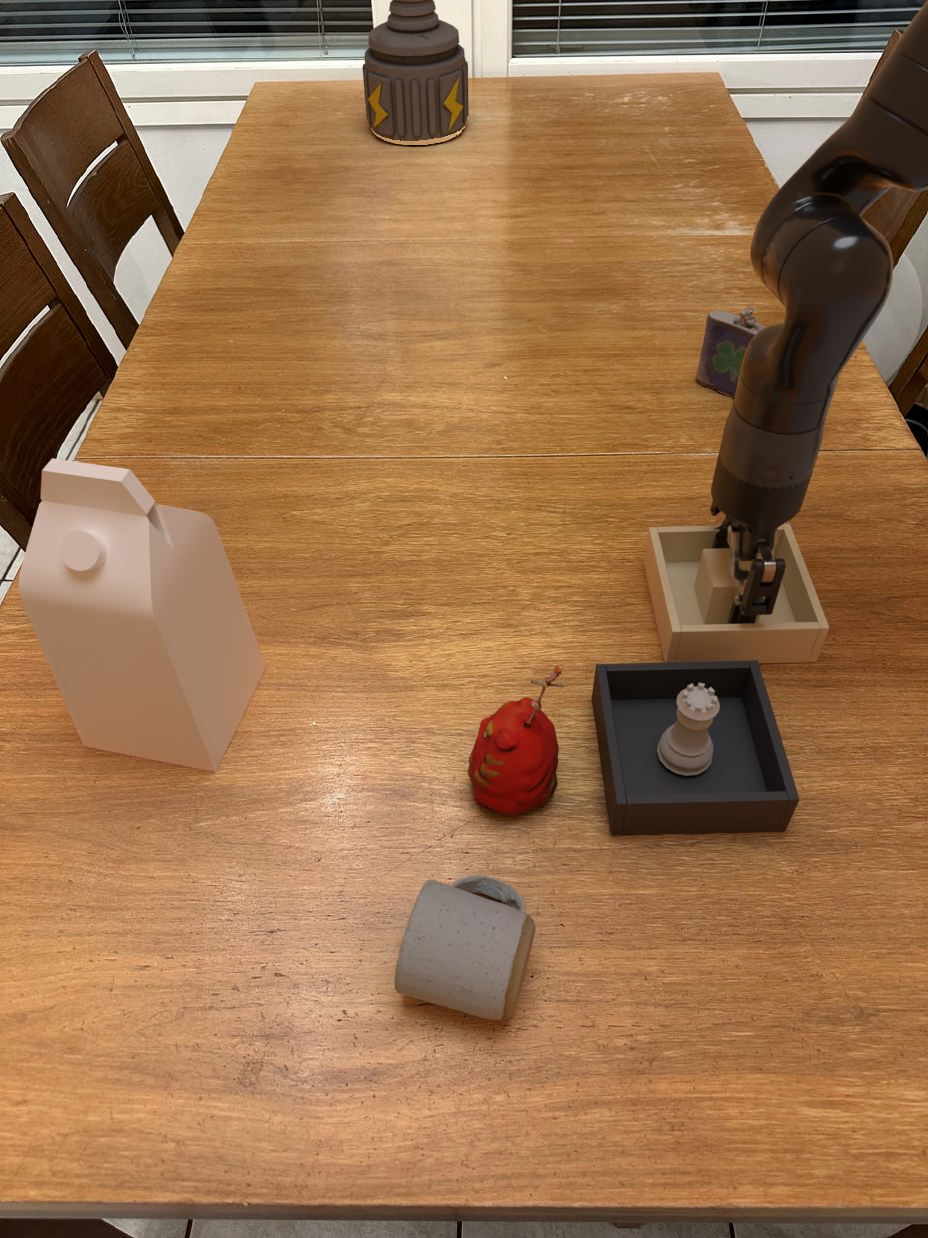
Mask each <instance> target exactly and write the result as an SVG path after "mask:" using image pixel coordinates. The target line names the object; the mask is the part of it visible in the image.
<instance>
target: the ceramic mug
mask: <svg viewBox="0 0 928 1238" xmlns="http://www.w3.org/2000/svg"><path fill="white" fill-rule="evenodd" d="M478 894H481V895H485V896H487V897H490V898H492V899H494V900H491V899H488V898H485V897H482V896H480V895H478ZM495 900H498V901H500V902H498V901H495ZM535 934H536V923H535V921H534V919H533V918H532V917H531V916H530V915H528V914H527V913H526V905H525V901H524V898H523V897H522V896H521V893H519V892H518V890H517V889H516V888H514V887H513V886H512V885H510V884H509V883H506V882H505V881H503V880H500V879H497V878H496V877H493V876H487V875H481V874H479V875H477V874H473V875H467V876H465V877H460V878H459V879H457V880H455V881H454V882H452V883H451V884H450V885H449V884H446V883H444V882H441V881H439V880H435V879H428V880H426V882H424V884H423V885H422V887H421V889H420V891H419V892H418V895H417V897H416V898H415V902H414V905H413V907H412V909H411V912H410V914H409V918H408V921H407V924H406V927H405V930H404V933H403V936H402V938H401V939H402V940H401V942H400V945H399V951H398V958H397V961H396V966H395V971H394V972H395V973H394V989H395V992H397V993H398V994H400V995H404V996H407V997H410V998H414V999H417V1000H420V1001H424V1002H428V1003H430V1004H434V1005H438V1006H441V1007H444V1008H447V1009H448V1008H449V1009H451V1010H456V1011H460V1012H463V1013H466V1014H469V1015H472V1016H474V1017H478V1018H481V1019H486V1020H494V1021H495V1020H496V1021H506V1020H508V1019H510V1018H511V1017H513V1015H514V1013H515V1011H516V1008H517V1004H518V1002H519V998H520V994H521V991H522V988H523V987H522V986H523V983H524V980H525V973H526V971H527V968H528V964H529V959H530V954H531V951H532V946H533V943H534V939H535Z"/></svg>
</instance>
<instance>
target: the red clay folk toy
mask: <svg viewBox="0 0 928 1238" xmlns="http://www.w3.org/2000/svg"><path fill="white" fill-rule="evenodd" d="M550 673H551V674H550V675H549V677H547V676H546V677H545V678H543V680H542V682H539V681H535V680H530V683H532V684H534V685H539V686H542V688H541V692H540V694H539V695H538V698H537V699H533V698H531V697H528V696H525V697H523V698H520V699H518V700H515V701H513V700H509V701H507V702H505V703H503V704H502V705H501V706H500V707H499V708H498V709H497V710H496V711H495V712H494V713H493V714H491V715H489V716H487V717H484V718H483V719H482V720H481V721H480V725H479V727H478V728H479V729H478V732H477V736H476V739H475V741H474V745H473V747H472V750H471V752H470V755H469V757H468V768H467V776H468V777H469V778H470V782H471V784H472V785H473V793H472V794H473V795H472V796H473V799H474V802H475V803H476V805H477V806H479V807H481V808H485V809H491V810H492V811H494V812H496V813H497V814H500V815H504V816H505V815H506V816H512V815H519V814H523V813H527V812H529V811H530V810H532V809H534V808H536V807H537V806H541V805H545V804H547V803H548V802H549V801H550V800H551V798H552V797H553V795H554V794H555V791H556V789H557V786H558V776H557V770H558V766H559V750H560V748H559V742H558V737H557V732H556V728H555V724H554V723H553V722H552V720H551V719H550V718H549V717H548V716H547V714H546V713H545V712H544V711H542V708H543V707H542V703H541V701H542V698H543V695H544V694H545V691H546V689H547V688H549V687H557V688H564V685H563V683H553V682H554V681H555V680H556V679H557V678H559V677H561V675H562V668H561V667H560V666H559V665H556V666H555V667H554V668H552V670H551V672H550Z"/></svg>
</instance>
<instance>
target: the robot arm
mask: <svg viewBox="0 0 928 1238" xmlns="http://www.w3.org/2000/svg"><path fill="white" fill-rule="evenodd" d="M892 188H896V189H899V190H904V191H908V192H924V191H927V190H928V0H926V2H925V3H924V4H923V6H922V7H921V8H920V9H919V10H918V12H917V13H916V14H915V15H914V17H913V18H912V20H911V21H910V23H909V24H908V26H907V27H906V28H905V30H904V31H903V33H902V34H901V36H900V38H898V40H897V42H896V44H895V45H894V47H893V49H892V50H891V51H890V53H889V55H888V56H887V58H886V59H885V61H884V63H883V64H882V66H881V67H880V69H878V72H877V73H876V75H875V76H874V78H873V80H872V81H871V82H870V85H869V86H868V88H867V89H866V91H865V94H863V95H862V96H861V99H860V100H859V101H858V103H857V104H856V106H855V109H854V110H853V112H852V113H851V115H850V116H849V117H848V119H846V120H845V122H843V124H841V125H840V127H838V128H837V129H836V130H835V131H834V132H833V133H832V134H831V135H830V136H829V137H828V138H827V139H826V140H825V141H824V142H823V143H821V144H820V146H818V147H817V149H816V150H815V151H814V152H813V153H812V154H811V155H810V156H809V158H807V160H806V161H804V163H802V164H801V166H800V167H799V168H798V169H796V171H795V172H794V173H793V174H792V175H791V176H790V177H789V178H788V179H787V180H786V181H785V183H783V185H782V186H781V187H780V188H779V189H778V190H777V192H775V194H774V195H773V196H772V197H771V199H770V201H769V202H768V203H767V204H766V207H764V210H763V211H762V213H761V215H760V217H759V219H758V222H757V223H756V227H755V229H754V231H753V235H752V239H751V244H750V262H751V266H752V268H753V271H754V272H755V275H756V276H757V277H758V279H759V280H760V281H761V282H762V283H763V285H764V286H765V287H766V288H767V289H768V290H770V292H771V293H772V294H773V296H775V298H777V300H778V301H779V302H780V303H781V304H782V306H783V307H785V315H784V322H779V323H775V324H770V325H768V326H766V328H764V329H762V330H761V331H759V332H758V333H757V334H756V335H755V336H754V337H753V338H752V339H751V341H750V343H749V345H748V347H747V349H746V352H745V355H744V358H743V362H742V366H741V371H740V376H739V380H738V385H737V389H736V394H735V398H734V399H733V401H732V405H731V408H730V410H729V413H728V415H727V417H726V421H725V425H724V428H723V432H722V436H721V437H722V438H721V442H720V446H719V450H718V455H717V460H716V464H715V469H714V474H713V478H712V482H711V487H710V495H711V498H712V501H711V505H710V509H709V510H710V511H709V512H710V515H711V516H712V517H715V520H714V522H713V525H712V526H713V530H714V533H715V537H714V541H713V546H712V549H721V548H730V570H729V573H730V576H731V577H733V578H734V579H735V596H734V600H733V604H732V607H731V611H730V615H729V618H728V622H727V624H749V623H755V621H756V617H757V615H771V614H772V612H773V609H774V606H775V602H776V599H777V595H778V592H779V589H780V585H781V582H782V578H783V575H784V572H785V568H786V564H785V560H784V559H783V558H777V559H774V546H775V545H776V544H777V534H778V530H777V528H778V527H780V526H781V525H783V524H787V523H788V522H789V521H791V520H793V519H794V518H795V517H796V516H797V515H798V514H799V512H800V511H801V509H802V506H803V504H804V501H805V497H806V495H807V491H808V488H809V484H810V483H811V482H810V481H811V479H812V475H813V472H814V470H815V466H816V462H817V459H818V456H819V453H820V450H821V448H822V447H821V446H822V443H823V439H824V434H825V433H824V431H825V425H826V420H827V416H828V413H829V410H830V407H831V403H832V401H833V397H834V395H835V391H836V387H837V384H838V380H839V377H840V374H841V373H842V371H843V370H844V368H845V367H846V365H847V364H848V362H849V361H850V360H851V358H852V357H853V356H854V354H855V352H856V351H857V349H858V347H859V346H860V344H862V341H863V340H864V338H865V337H866V335H867V334H868V332H869V331H870V329H871V328H872V326H873V325H874V323H875V322H876V320H877V318H879V316H880V314H881V312H882V310H883V308H884V306H885V305H886V302H887V300H888V298H889V296H890V293H891V292H890V291H891V289H892V283H893V277H894V275H893V274H894V258H893V253H892V249H891V246H890V244H889V243H888V241H887V239H886V238H885V237H884V235H883V234H882V233H881V232H880V231H878V230H877V229H876V228H875V227H874V226H873V225H871V224H870V223H869V222H868V221H867V220H866V219H864V218H863V217H862V216H863V215H864V213H865V212H866V211H867V210H868V209H869V208H871V206H872V205H873V204H874V203H876V201H878V200H879V198H881V197H882V196H883V195H884V194H886V192H888V191H889V190H890V189H892ZM740 561H752V562H751V566H749V567H748V569H741V568H740V566H739V564H740ZM746 579H747V582H746V585H745V589H744V581H745V580H746Z"/></svg>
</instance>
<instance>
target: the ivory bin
mask: <svg viewBox="0 0 928 1238" xmlns="http://www.w3.org/2000/svg"><path fill="white" fill-rule="evenodd" d="M647 530H648V532H647V537H646V541H645V542H646V543H645V549H644V555H643V561H642V562H643V568H644V573H645V578H646V581H647V586H648V591H649V595H650V600H651V605H652V610H653V614H654V619H655V624H656V629H657V633H658V639H659V642H660V643H659V644H660V647H661V652H662V657H663V661H664V662H663V663H666V662H708V661H749V660H758V663H759V664H790V663H791V664H795V663H797V664H798V663H817V661H818V658H819V656H820V653H821V651H822V648H823V645H824V644H825V640H826V638H827V635H828V633H829V631H830V625H829V623H828V620H827V617H826V614H825V613H824V609H823V607H822V604H821V602H820V599H819V596H818V593H817V591H816V588H815V585H814V583H813V580H812V578H811V575H810V572H809V570H808V567H807V565H806V562H805V559H804V557H803V553H802V552H801V549H800V546H799V543H798V541H797V538H796V537H795V536H796V535H795V534H794V531H793V528H792V526H791V523H784V524H783V525H781V526H780V527H778V528H777V530H778V534H777V544H776V545H775V546H774V559H777V558H783V559H784V560H785V564H786V568H785V572H784V575H783V578H782V582H781V585H780V589H779V592H778V595H777V599H776V602H775V606H774V609H773V612H772V614H771V615H760V618H759V621H758V623H749V624H707V625H704V623H703V619H702V615H701V611H700V607H699V603H698V599H697V596H696V592H695V588H694V586H695V582H696V577H697V573H698V569H699V564H700V560H701V556H702V551H703V549H712V546H713V541H714V537H715V533H714V530H713V525H681V526H680V525H679V526H678V525H677V526H649V527H648V529H647Z"/></svg>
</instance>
